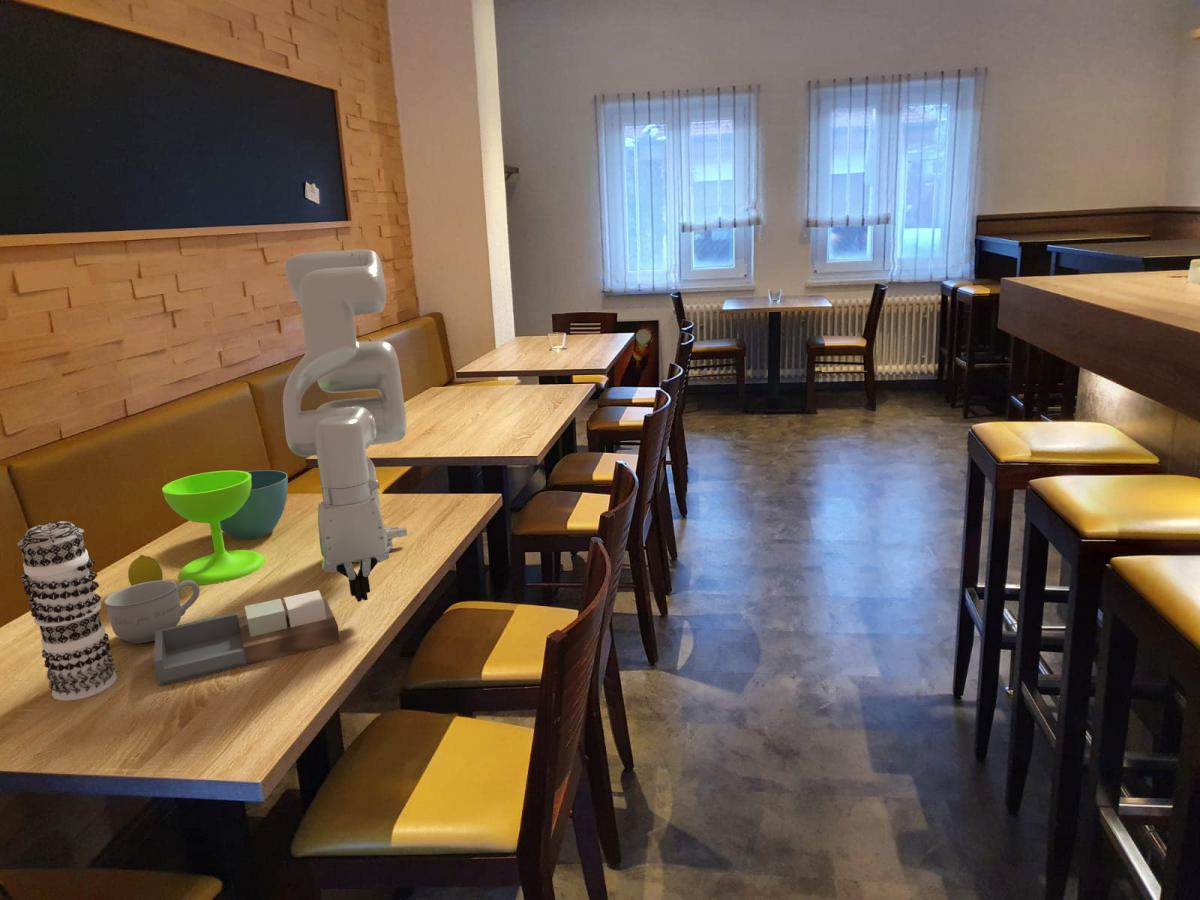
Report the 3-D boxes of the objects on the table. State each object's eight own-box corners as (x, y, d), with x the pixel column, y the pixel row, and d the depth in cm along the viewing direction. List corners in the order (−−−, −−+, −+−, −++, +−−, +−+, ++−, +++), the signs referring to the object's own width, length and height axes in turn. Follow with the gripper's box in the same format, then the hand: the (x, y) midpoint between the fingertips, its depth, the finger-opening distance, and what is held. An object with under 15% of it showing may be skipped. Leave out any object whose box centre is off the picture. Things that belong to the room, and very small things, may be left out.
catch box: (240, 634, 141) (236, 612, 140) (246, 665, 131) (242, 641, 130) (160, 653, 136) (155, 630, 135) (159, 686, 126) (154, 662, 125)
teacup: (112, 656, 136) (102, 610, 134) (114, 630, 146) (105, 587, 144) (207, 634, 142) (199, 589, 140) (203, 610, 152) (195, 568, 150)
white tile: (321, 606, 143) (318, 590, 142) (326, 619, 138) (323, 602, 138) (286, 614, 141) (283, 597, 140) (290, 627, 136) (287, 610, 135)
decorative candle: (97, 665, 134) (63, 513, 127) (133, 677, 129) (99, 520, 123) (36, 693, 126) (-4, 533, 120) (71, 707, 121) (32, 542, 115)
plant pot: (190, 541, 188) (180, 488, 185) (260, 516, 203) (252, 466, 200) (242, 553, 179) (233, 497, 175) (312, 526, 193) (304, 474, 190)
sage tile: (283, 615, 141) (280, 598, 140) (287, 628, 136) (284, 610, 135) (247, 623, 138) (244, 606, 138) (250, 636, 134) (247, 619, 133)
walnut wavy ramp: (328, 614, 147) (325, 598, 146) (340, 642, 137) (337, 624, 136) (240, 634, 141) (237, 617, 141) (246, 665, 131) (243, 647, 130)
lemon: (152, 602, 157) (144, 561, 154) (126, 601, 158) (117, 560, 156) (172, 589, 162) (164, 550, 160) (147, 588, 163) (139, 549, 161)
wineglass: (281, 554, 177) (268, 470, 172) (232, 586, 162) (216, 495, 157) (214, 552, 181) (199, 470, 176) (160, 582, 166) (142, 493, 161)
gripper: (388, 479, 145) (400, 580, 149) (295, 495, 139) (311, 600, 143) (398, 490, 138) (411, 595, 143) (301, 507, 132) (318, 617, 137)
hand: (361, 597), depth 143 cm, fingers closed
